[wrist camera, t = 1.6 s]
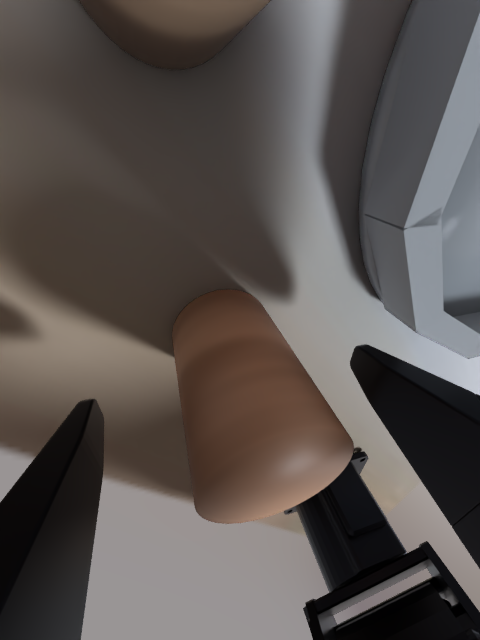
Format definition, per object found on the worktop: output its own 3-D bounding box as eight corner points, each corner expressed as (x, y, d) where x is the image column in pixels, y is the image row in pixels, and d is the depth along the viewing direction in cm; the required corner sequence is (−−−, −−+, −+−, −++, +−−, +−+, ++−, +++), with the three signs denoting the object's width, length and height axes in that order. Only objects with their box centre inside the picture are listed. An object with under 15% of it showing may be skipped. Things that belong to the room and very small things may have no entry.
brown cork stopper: (264, 359, 13) (334, 494, 8) (178, 376, 12) (200, 539, 7) (271, 283, 11) (373, 408, 6) (165, 296, 10) (185, 459, 5)
